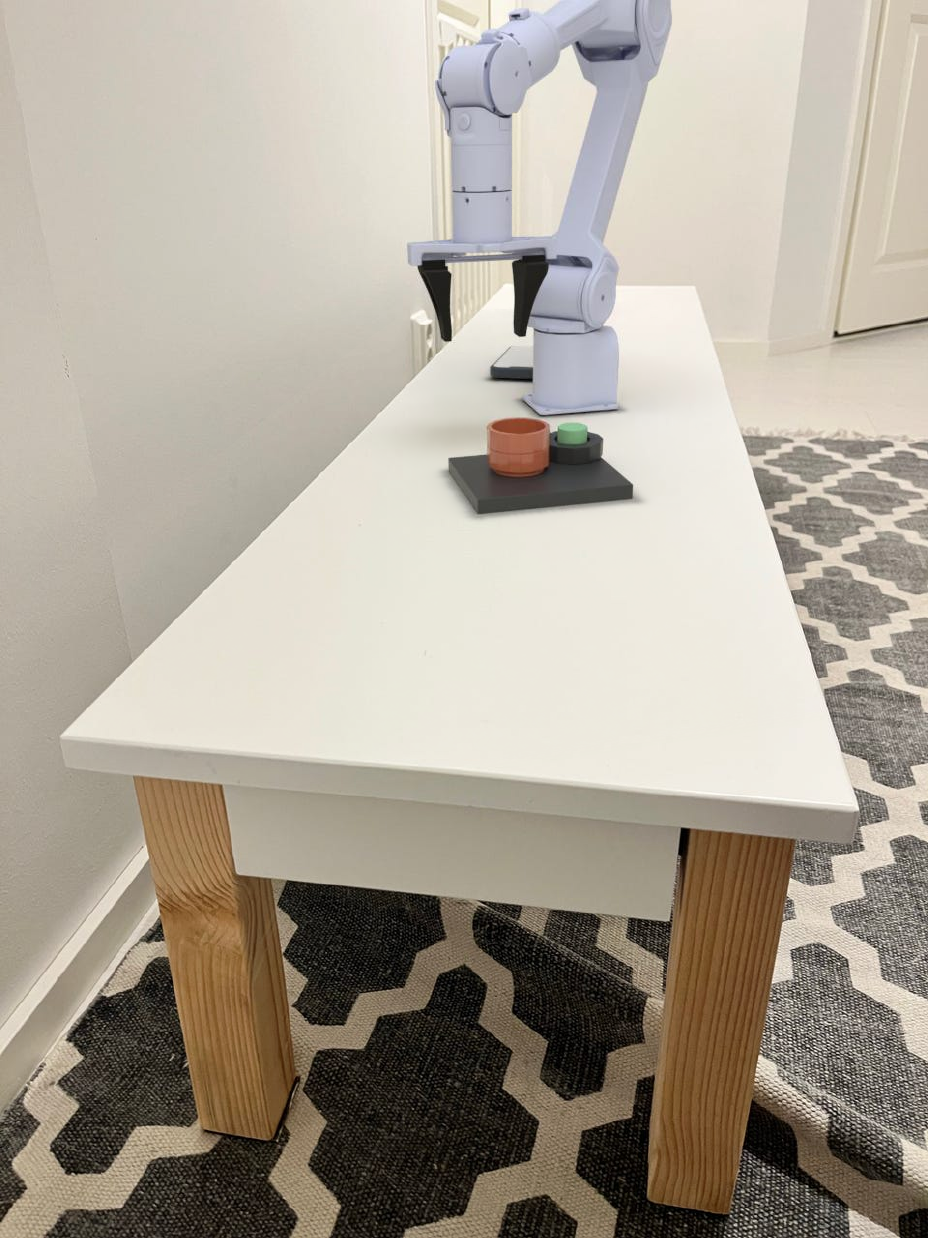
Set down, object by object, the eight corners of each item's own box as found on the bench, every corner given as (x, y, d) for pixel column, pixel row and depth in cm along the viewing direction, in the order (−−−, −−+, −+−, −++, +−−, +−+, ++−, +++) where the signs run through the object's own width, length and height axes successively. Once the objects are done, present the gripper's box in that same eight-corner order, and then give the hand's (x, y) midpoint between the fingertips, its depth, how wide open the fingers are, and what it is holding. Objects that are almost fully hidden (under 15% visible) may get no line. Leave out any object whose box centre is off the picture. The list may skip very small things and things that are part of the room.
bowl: (538, 456, 92) (539, 415, 90) (556, 475, 87) (557, 431, 85) (481, 461, 91) (480, 420, 89) (496, 480, 86) (496, 436, 84)
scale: (589, 457, 96) (590, 428, 95) (636, 499, 85) (638, 466, 84) (447, 470, 93) (446, 440, 92) (477, 515, 83) (477, 481, 81)
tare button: (581, 437, 93) (581, 421, 93) (591, 445, 91) (591, 429, 90) (553, 439, 93) (553, 423, 92) (562, 447, 90) (562, 431, 90)
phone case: (509, 356, 140) (487, 379, 126) (509, 344, 139) (487, 367, 125) (571, 358, 138) (555, 382, 124) (571, 346, 137) (556, 369, 123)
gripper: (414, 195, 87) (420, 349, 93) (568, 190, 90) (564, 340, 96) (401, 191, 93) (407, 336, 99) (545, 186, 96) (543, 327, 102)
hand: (483, 337), depth 98 cm, fingers open, 7 cm apart
